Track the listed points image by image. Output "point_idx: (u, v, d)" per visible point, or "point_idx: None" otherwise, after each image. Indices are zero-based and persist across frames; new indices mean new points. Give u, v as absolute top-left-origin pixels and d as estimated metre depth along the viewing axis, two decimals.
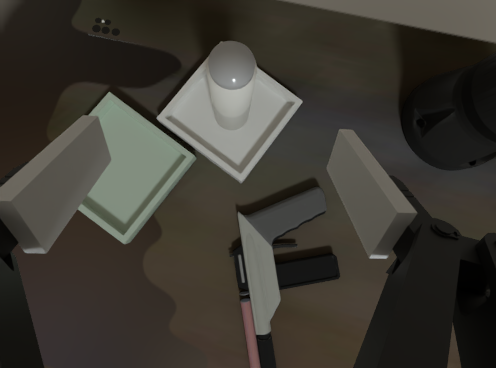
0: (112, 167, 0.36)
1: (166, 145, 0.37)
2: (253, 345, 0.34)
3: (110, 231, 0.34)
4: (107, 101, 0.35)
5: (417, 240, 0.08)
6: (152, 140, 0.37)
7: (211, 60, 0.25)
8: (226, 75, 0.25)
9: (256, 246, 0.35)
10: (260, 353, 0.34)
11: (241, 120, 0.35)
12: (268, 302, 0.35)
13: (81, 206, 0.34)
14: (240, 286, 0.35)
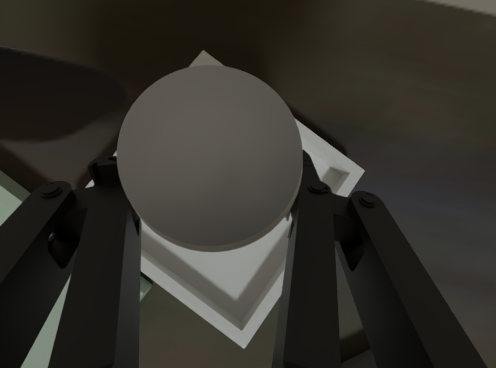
0: None
1: None
2: None
3: None
4: None
5: (299, 203, 0.09)
6: None
7: (130, 143, 0.06)
8: (190, 205, 0.06)
9: None
10: None
11: None
12: None
13: None
14: None
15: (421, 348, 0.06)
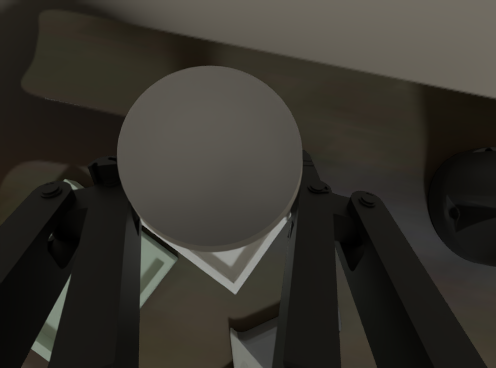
0: None
1: None
2: None
3: None
4: None
5: (299, 203, 0.09)
6: None
7: (130, 144, 0.06)
8: (190, 205, 0.06)
9: None
10: None
11: None
12: None
13: None
14: None
15: (421, 348, 0.06)
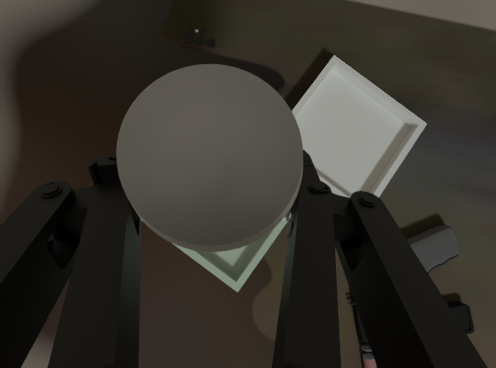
0: None
1: None
2: None
3: (221, 277, 0.29)
4: None
5: (299, 203, 0.09)
6: None
7: (130, 143, 0.06)
8: (190, 204, 0.06)
9: None
10: None
11: None
12: None
13: None
14: (364, 340, 0.30)
15: (421, 348, 0.06)
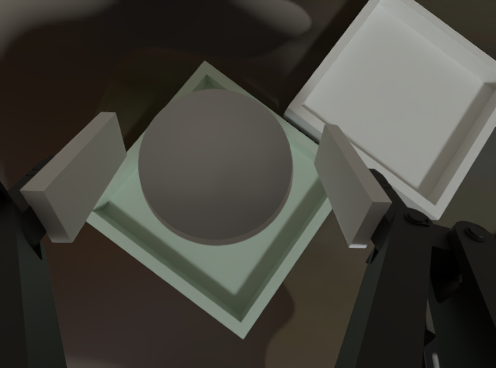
0: None
1: (297, 154, 0.21)
2: None
3: (217, 315, 0.18)
4: (202, 77, 0.20)
5: (392, 229, 0.09)
6: None
7: (149, 155, 0.07)
8: (198, 206, 0.07)
9: None
10: None
11: None
12: None
13: (163, 268, 0.18)
14: None
15: None
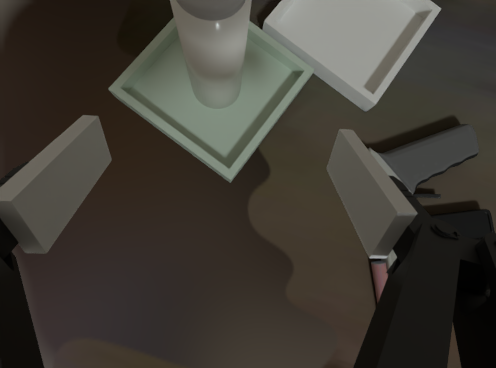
0: None
1: (272, 60, 0.28)
2: None
3: (212, 163, 0.25)
4: None
5: (417, 240, 0.08)
6: (254, 53, 0.28)
7: None
8: None
9: None
10: None
11: (230, 91, 0.24)
12: None
13: (172, 129, 0.25)
14: None
15: None
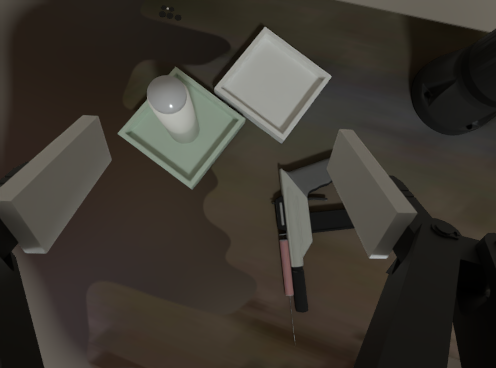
0: None
1: (220, 111, 0.45)
2: (289, 275, 0.42)
3: (179, 178, 0.41)
4: (174, 74, 0.43)
5: (417, 240, 0.08)
6: (209, 107, 0.45)
7: (149, 91, 0.31)
8: (161, 103, 0.31)
9: (294, 196, 0.43)
10: (294, 282, 0.42)
11: (189, 135, 0.41)
12: (302, 242, 0.43)
13: (155, 158, 0.42)
14: (280, 227, 0.43)
15: None
